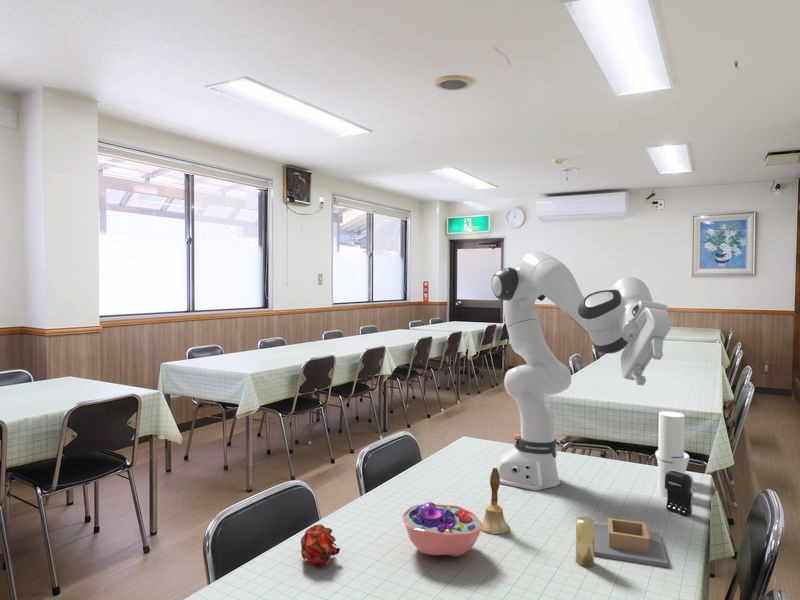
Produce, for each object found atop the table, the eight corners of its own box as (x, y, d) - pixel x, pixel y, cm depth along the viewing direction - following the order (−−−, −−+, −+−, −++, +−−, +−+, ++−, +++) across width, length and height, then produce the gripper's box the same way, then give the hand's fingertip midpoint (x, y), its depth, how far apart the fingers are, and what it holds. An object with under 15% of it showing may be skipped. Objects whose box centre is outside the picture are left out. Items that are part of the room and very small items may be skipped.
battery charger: (662, 509, 153) (662, 470, 153) (669, 506, 155) (670, 467, 155) (686, 518, 147) (687, 477, 147) (693, 515, 149) (694, 475, 149)
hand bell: (490, 517, 148) (490, 461, 147) (516, 527, 142) (516, 468, 141) (472, 527, 142) (472, 468, 141) (497, 538, 136) (498, 476, 135)
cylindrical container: (686, 499, 160) (688, 417, 159) (661, 497, 162) (662, 416, 161) (679, 490, 167) (680, 411, 166) (655, 488, 169) (656, 410, 168)
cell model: (464, 579, 116) (464, 529, 116) (388, 555, 127) (388, 508, 127) (493, 547, 131) (493, 502, 131) (422, 528, 141) (422, 486, 141)
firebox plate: (593, 555, 127) (593, 537, 127) (592, 527, 142) (593, 510, 142) (667, 567, 121) (668, 548, 121) (658, 536, 137) (659, 519, 136)
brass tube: (575, 565, 122) (576, 522, 122) (576, 556, 126) (576, 515, 126) (594, 568, 121) (594, 525, 121) (593, 559, 125) (594, 518, 125)
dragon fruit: (313, 553, 131) (328, 585, 120) (286, 540, 127) (299, 572, 117) (334, 524, 132) (350, 552, 121) (308, 510, 128) (322, 539, 118)
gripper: (611, 352, 138) (618, 395, 128) (642, 295, 124) (653, 339, 114) (636, 356, 137) (645, 400, 127) (670, 300, 123) (683, 344, 113)
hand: (649, 370), depth 120 cm, fingers open, 8 cm apart
